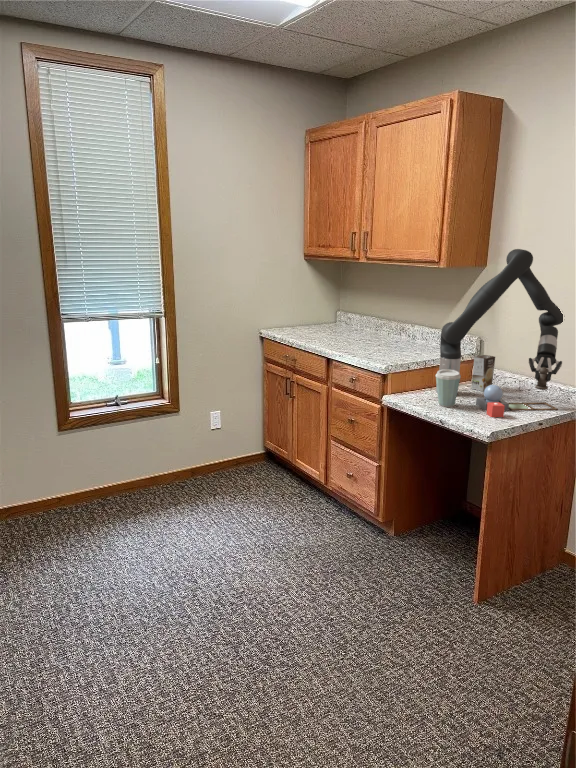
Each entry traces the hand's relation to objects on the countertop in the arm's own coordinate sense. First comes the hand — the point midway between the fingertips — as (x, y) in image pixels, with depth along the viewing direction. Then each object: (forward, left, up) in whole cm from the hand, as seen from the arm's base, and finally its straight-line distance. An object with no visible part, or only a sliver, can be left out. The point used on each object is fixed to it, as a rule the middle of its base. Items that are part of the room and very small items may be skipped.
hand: (542, 380), depth 240 cm
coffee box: (-11, +34, -13) cm, 38 cm away
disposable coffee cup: (-39, +6, -13) cm, 42 cm away
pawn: (+1, +2, -4) cm, 5 cm away
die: (-24, -10, -12) cm, 29 cm away
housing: (-20, +2, -12) cm, 24 cm away
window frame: (-4, +2, -12) cm, 13 cm away
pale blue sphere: (-20, +2, -11) cm, 23 cm away
